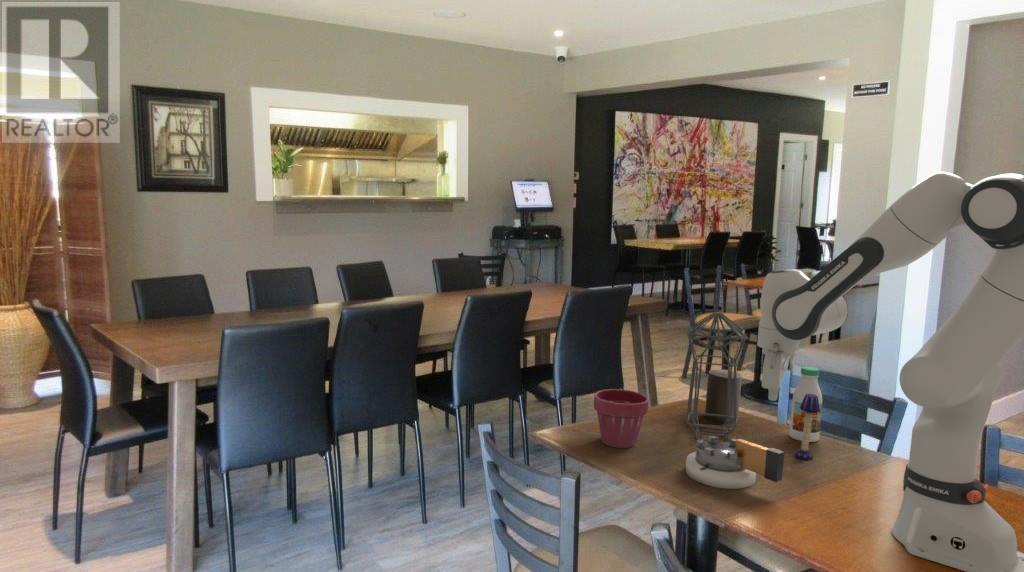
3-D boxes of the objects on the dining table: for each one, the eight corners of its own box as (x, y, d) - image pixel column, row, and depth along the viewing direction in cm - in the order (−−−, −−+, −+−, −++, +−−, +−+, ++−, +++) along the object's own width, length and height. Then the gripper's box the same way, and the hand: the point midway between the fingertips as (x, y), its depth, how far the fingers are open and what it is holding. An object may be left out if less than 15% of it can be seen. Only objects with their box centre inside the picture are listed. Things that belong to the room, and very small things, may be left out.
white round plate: (769, 478, 165) (770, 465, 165) (729, 494, 155) (730, 481, 155) (712, 457, 177) (713, 445, 177) (672, 471, 167) (672, 458, 167)
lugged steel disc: (684, 459, 167) (686, 430, 166) (714, 449, 174) (716, 421, 173) (763, 489, 151) (766, 458, 150) (793, 477, 158) (796, 447, 157)
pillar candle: (705, 420, 206) (709, 371, 204) (704, 410, 216) (708, 363, 214) (739, 424, 204) (744, 374, 202) (737, 414, 214) (741, 366, 211)
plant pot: (645, 435, 192) (647, 390, 190) (646, 454, 178) (649, 405, 177) (593, 431, 194) (595, 386, 192) (590, 449, 180) (593, 401, 179)
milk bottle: (783, 435, 196) (788, 365, 193) (803, 431, 199) (809, 363, 196) (804, 444, 189) (811, 372, 186) (825, 440, 192) (831, 370, 189)
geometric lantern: (680, 442, 187) (687, 314, 183) (683, 426, 202) (689, 306, 198) (742, 449, 183) (750, 318, 179) (740, 432, 198) (748, 310, 194)
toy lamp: (811, 454, 181) (817, 392, 179) (817, 461, 176) (823, 398, 174) (792, 453, 182) (798, 391, 179) (798, 460, 177) (803, 396, 175)
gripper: (789, 350, 146) (783, 413, 148) (796, 333, 165) (791, 390, 167) (757, 346, 149) (752, 408, 151) (768, 330, 167) (763, 386, 169)
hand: (773, 399), depth 159 cm, fingers closed
